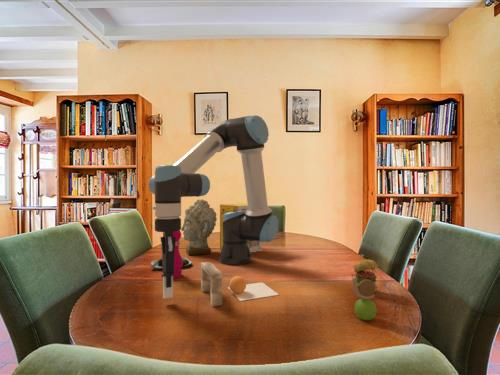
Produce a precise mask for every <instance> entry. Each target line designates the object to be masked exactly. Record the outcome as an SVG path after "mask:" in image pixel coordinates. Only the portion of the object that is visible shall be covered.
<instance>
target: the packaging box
mask: <svg viewBox="0 0 500 375" xmlns="http://www.w3.org/2000/svg"><path fill="white" fill-rule="evenodd" d="M247 210H248V203H228V204H227V203H226V204H225V203H223V204H219V250H220V251H221V249H222V246H223V215H224V214H225V213H229V212H238V211H247ZM248 246H249V249H250V252H254V253H257V252H256V251H259V252H261V250H262V251H263V242H260V241H253V240H248Z"/></svg>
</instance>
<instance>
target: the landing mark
mask: <svg viewBox="0 0 500 375" xmlns="http://www.w3.org/2000/svg"><path fill="white" fill-rule="evenodd" d="M227 289H228V290H229V291H230V292H231V293H232V294H233V295H234V296H235V298H237V299H238V300H239V301H240V302H246V301H251V300H258V299H265V298H269V297H270V298H271V297H276V296H277V297H278V296H280V294H278V292H276V291H275V290H273V289H272V288H271V287H269V286H268V285H266V284H265V283H264V282H262V281H261V282H256V283H254V282H253V283H248V284H247V283H246V288H245V290H244V291H243V292H242V293H240V294H235V293H233V292H232V291H231V290H230V287H229V286H227Z"/></svg>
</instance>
